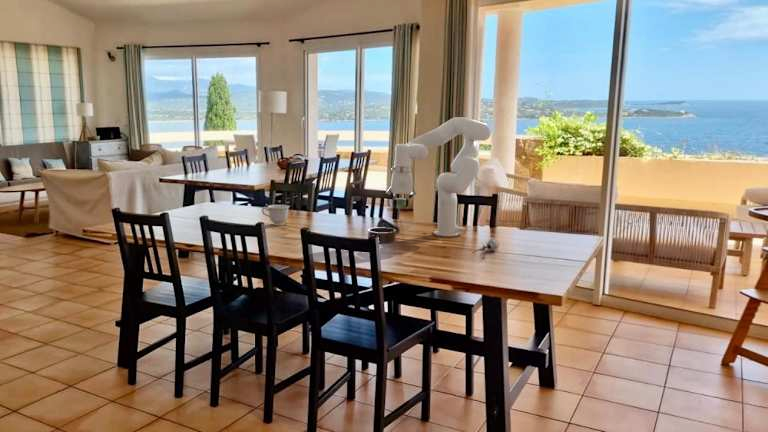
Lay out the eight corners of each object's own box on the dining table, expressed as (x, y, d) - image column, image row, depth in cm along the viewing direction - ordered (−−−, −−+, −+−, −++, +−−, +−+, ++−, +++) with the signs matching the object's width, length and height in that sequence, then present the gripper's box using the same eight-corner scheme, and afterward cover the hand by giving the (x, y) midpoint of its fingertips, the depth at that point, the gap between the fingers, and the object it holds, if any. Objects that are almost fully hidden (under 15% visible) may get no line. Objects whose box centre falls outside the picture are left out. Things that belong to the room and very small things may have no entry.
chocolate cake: (402, 231, 303) (387, 214, 305) (401, 230, 296) (385, 212, 298) (388, 243, 303) (373, 226, 305) (387, 242, 296) (372, 225, 298)
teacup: (261, 222, 318) (261, 205, 317) (288, 222, 322) (288, 204, 321) (262, 227, 307) (262, 208, 305) (291, 226, 311) (290, 207, 309)
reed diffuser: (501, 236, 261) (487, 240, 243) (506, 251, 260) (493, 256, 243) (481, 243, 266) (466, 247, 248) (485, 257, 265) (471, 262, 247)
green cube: (404, 207, 282) (405, 198, 281) (405, 208, 278) (406, 199, 277) (395, 207, 282) (395, 198, 281) (396, 208, 277) (396, 199, 276)
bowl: (394, 237, 287) (394, 227, 286) (396, 243, 274) (396, 232, 273) (367, 237, 286) (367, 227, 285) (368, 243, 273) (368, 232, 272)
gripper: (385, 170, 272) (383, 208, 275) (420, 171, 274) (419, 209, 277) (383, 168, 280) (382, 206, 283) (418, 169, 281) (416, 207, 284)
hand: (400, 207), depth 280 cm, fingers closed on green cube, 4 cm apart
